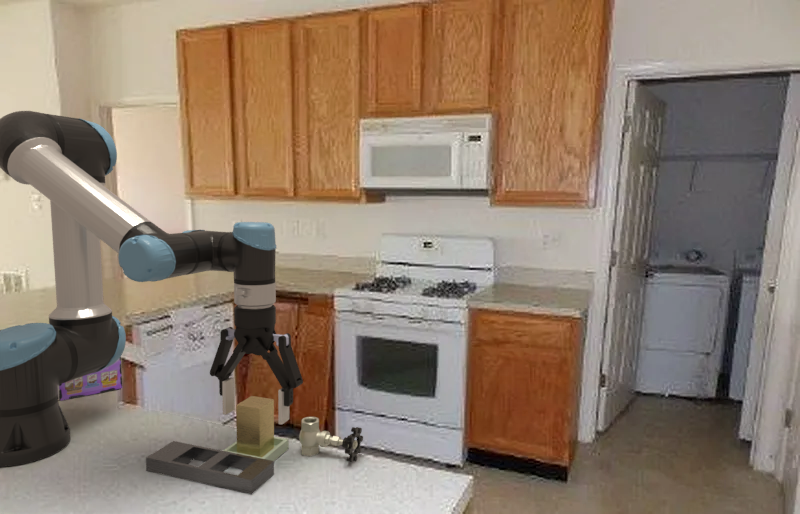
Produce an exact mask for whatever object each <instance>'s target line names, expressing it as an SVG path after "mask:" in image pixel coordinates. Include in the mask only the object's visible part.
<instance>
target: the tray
mask: <svg viewBox="0 0 800 514" xmlns="http://www.w3.org/2000/svg"><path fill="white" fill-rule="evenodd" d="M289 441H290V440H289V438H284V437H279V436H274V448H273V449H272V450H271V451H270V452H268V453H267V454H266V455H265V456H263V457H257V456H252V455H247V454H242V453H237V440H236V441H234V442H233V443H232V444H230V445H229V446H227V447H226V448H225V449H223V450H222V451H227V452H232V453H237V454H242V455H246V456H251V457H256V458H261V459H266V460H271V461H274V462H275V461H276V460H277V459H279V458H280V456H283V454H284V453H286V452H287V451H288V450H289V448H290V445H289V443H290V442H289Z"/></svg>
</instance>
